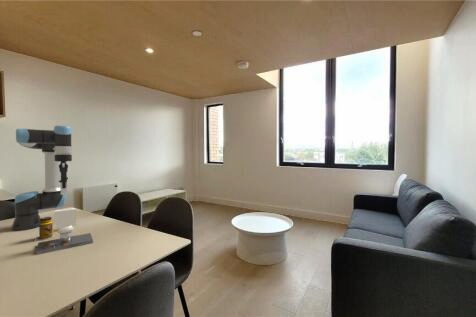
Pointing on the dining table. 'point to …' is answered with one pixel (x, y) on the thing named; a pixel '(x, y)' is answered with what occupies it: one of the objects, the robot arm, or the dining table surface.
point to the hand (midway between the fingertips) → (63, 192)
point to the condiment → (45, 229)
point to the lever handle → (65, 220)
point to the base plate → (60, 245)
